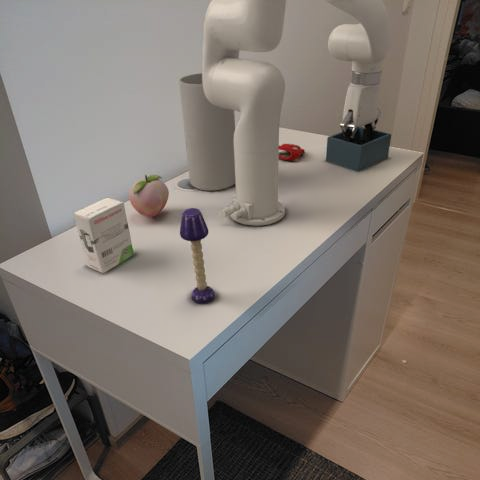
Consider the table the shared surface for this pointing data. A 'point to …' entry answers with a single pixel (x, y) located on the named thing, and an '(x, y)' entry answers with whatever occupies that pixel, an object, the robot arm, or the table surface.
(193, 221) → the toy lamp
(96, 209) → the ink box
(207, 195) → the table surface
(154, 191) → the decorative fruit
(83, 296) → the table surface
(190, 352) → the table surface
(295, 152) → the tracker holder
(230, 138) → the cylinder vase
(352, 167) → the teal open box
